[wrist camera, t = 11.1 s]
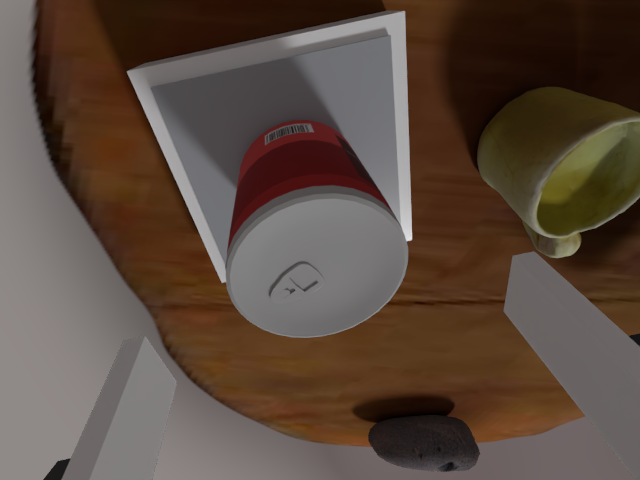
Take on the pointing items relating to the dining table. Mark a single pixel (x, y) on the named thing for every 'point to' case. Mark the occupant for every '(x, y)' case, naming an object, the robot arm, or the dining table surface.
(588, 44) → the dining table surface
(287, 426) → the dining table surface
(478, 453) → the perforated stone tool
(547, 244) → the mug
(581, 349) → the robot arm
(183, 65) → the tray
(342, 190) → the canned food
